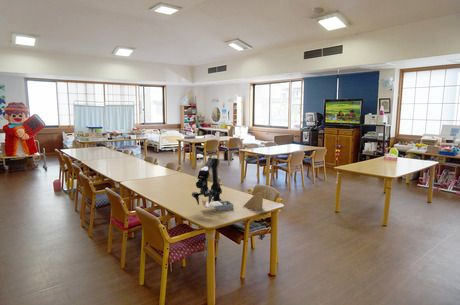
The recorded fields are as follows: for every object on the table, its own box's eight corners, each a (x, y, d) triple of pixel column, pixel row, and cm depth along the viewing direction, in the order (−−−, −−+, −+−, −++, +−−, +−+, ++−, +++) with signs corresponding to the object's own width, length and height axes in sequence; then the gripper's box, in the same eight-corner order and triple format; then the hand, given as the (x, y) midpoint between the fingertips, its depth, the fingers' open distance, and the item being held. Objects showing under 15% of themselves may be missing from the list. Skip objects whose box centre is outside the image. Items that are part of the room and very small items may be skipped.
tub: (213, 207, 254) (214, 202, 253) (228, 205, 259) (228, 200, 259) (218, 211, 245) (218, 206, 244) (233, 209, 251) (233, 204, 250)
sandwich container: (249, 204, 264) (250, 187, 262) (262, 208, 253) (263, 191, 251) (242, 206, 259) (242, 189, 257) (255, 211, 248) (256, 193, 245)
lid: (200, 203, 248) (200, 198, 248) (217, 201, 255) (217, 196, 254) (205, 207, 239) (205, 202, 238) (223, 205, 246) (223, 199, 245)
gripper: (196, 188, 230) (196, 208, 232) (218, 186, 238) (218, 205, 241) (191, 185, 240) (191, 204, 242) (213, 183, 248) (213, 201, 251)
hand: (203, 204), depth 244 cm, fingers open, 9 cm apart
